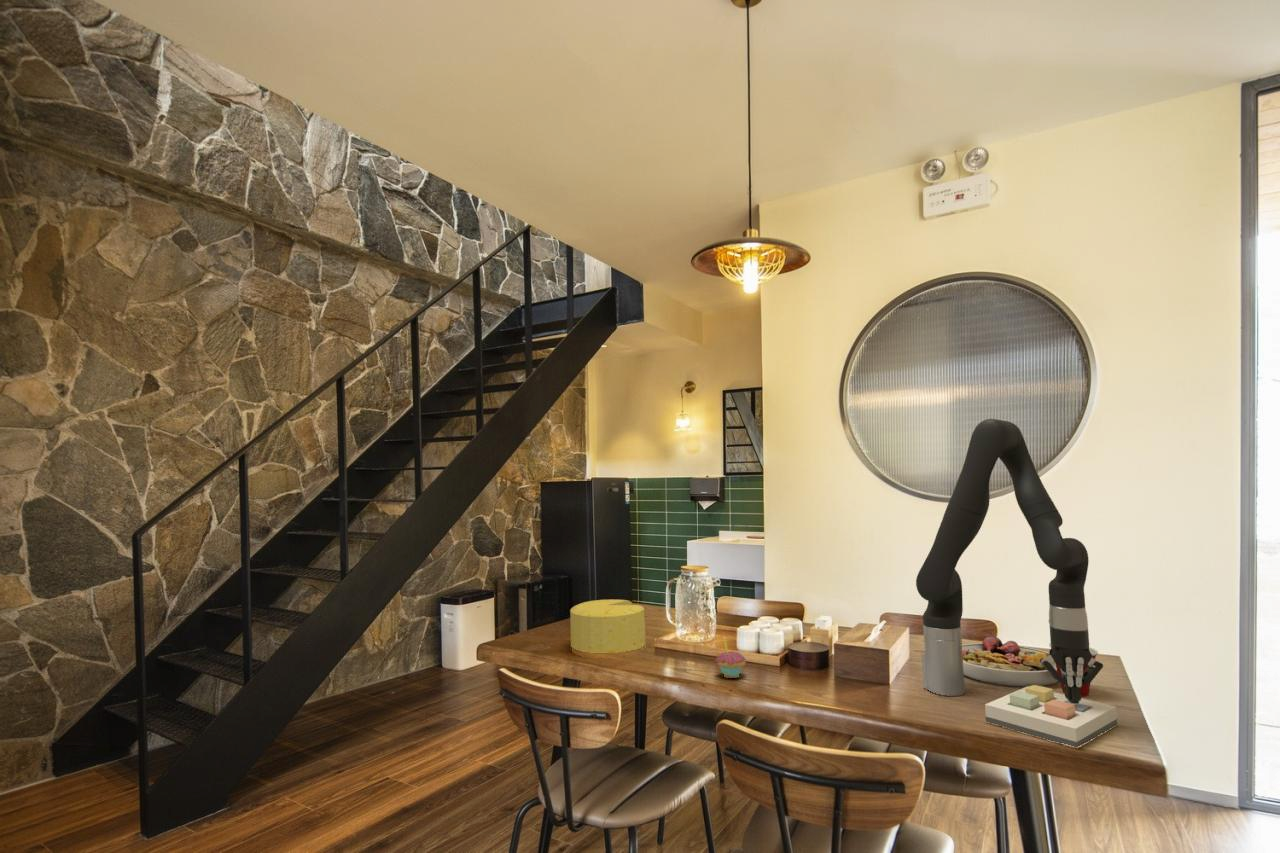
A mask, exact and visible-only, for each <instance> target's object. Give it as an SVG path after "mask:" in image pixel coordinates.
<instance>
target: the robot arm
mask: <svg viewBox="0 0 1280 853" xmlns="http://www.w3.org/2000/svg"><path fill="white" fill-rule="evenodd" d="M998 459H999V460H1000V461H1001V462H1002V464H1003V465H1004V466H1005V468H1006V469H1007V472H1008V474H1009V476H1010V478H1011V482H1012V485H1013V491H1014V496H1015V499H1016V502H1017V505H1018V507H1019V509H1020V511H1021V513H1022V515H1023V516H1024V518H1025V521H1027V524H1028V525H1029V527H1030V529H1031V533H1032V538H1033V542H1034V546H1035V549H1036V552H1037V554H1038V556H1039V558H1040V560H1041V561H1042V562H1043V563H1044V565H1045V566H1047V567H1048V568H1049V569H1052V570H1055V571H1056V574H1055V577H1054V578H1053V579H1051V581H1049V583H1048V601H1049V602H1048V604H1049V605H1048V606H1049V609H1048V624H1049V638H1050V640H1049V641H1050V643H1051V647H1050V650H1049V656H1048V657H1046V658H1045V659H1043V658H1041V659H1040V663H1041V664H1042V665H1043V666H1044V667H1045V668H1046V670H1047V671H1048V672H1049V673H1050V674H1051V675H1052V676H1053V678H1054V679H1055V680H1057V683H1059V684H1060V685H1061V684H1064V689H1065V693H1064V695H1065V697H1066V699H1068V701H1069V702H1070V703H1079V701H1081V699H1082V697H1081V686H1082V685H1085V684H1086V685H1089V684H1090V685H1091V683H1092V681H1093V680H1094V679H1095V678H1096V676H1097V675H1099V673H1100V671H1102V669H1103V667H1104V664H1103V663H1101V661H1098V660H1097V659H1096V658H1095V659H1094V658H1092V654H1091V653H1090V651H1089V648H1090V637H1089V635H1090V634H1089V624H1088V623H1089V621H1088V614H1087V608H1086V597H1085V596H1086V595H1085V584H1086V581H1087V574H1088V571H1089V570H1088V569H1089V553H1088V551H1087V548H1086V546H1085V545H1084V544H1083V542H1082V541H1080V540H1078V539H1077V538H1072V537H1064V538H1063V536H1062V534H1061V533H1062V532H1061V531H1060V527H1061V526H1062V525H1063V517H1062V515H1061V514H1060V512H1059V510H1058V508H1057V506H1056V505H1055V503H1054V501H1053V499H1052V498H1051V496H1050V495H1049V492H1048V491H1047V489H1046V488H1045V485H1044V484H1043V482H1042V480H1041V478H1040V475H1039V474H1038V472H1037V469H1036V467H1035V466H1036V465H1035V464H1034V462H1033V460H1032V457H1031V455H1030V452H1029V449H1028V446H1027V443H1026V440H1025V438H1024V435H1023V434H1022V431H1021V429H1020V428H1019V426H1017V424H1015V423H1013V422H1011V421H1007V420H1001V419H998V418H997V419H996V418H987V419H984V420H981V421H980V422H979V423H977V425H976V426H975V428H974V430H973V431H972V433H971V437H970V440H969V444H968V448H967V452H966V455H965V459H964V461H963V462H964V463H963V464H962V465H963V466H962V469H961V471H960V473H959V476H958V478H957V481H956V484H955V487H954V489H953V492H952V494H951V497H950V499H949V500H948V503H947V506H946V508H945V511H944V514H943V516H942V519H941V522H940V525H939V528H938V529H937V533H936V535H935V538H934V542H933V543H932V546H931V548H930V550H929V553H928V555H927V557H926V558H925V560H924V562H923V564H922V565H921V568H920V569H919V571H918V573H917V576H916V578H915V579H916V580H915V586H916V590H917V593H918V594H919V596H920V597H921V598H923V599H924V600H926V601H927V607H926V609H925V610H924V612H923V615H922V624H923V638H924V639H923V640H924V641H923V642H924V644H923V645H924V651H923V652H921V665H922V683H923V685H922V686H923V689H924V688H925V689H924V690H929V691H928V692H930V691H931V692H930V693H932V692H933V694H935V693H936V694H935V695H939V694H940V695H941V696H945V695H946V696H947V697H958V696H963V695H965V692H966V691H965V690H966V689H965V675H964V670H963V654H962V645H963V644H962V642H963V640H962V639H963V638H962V628H961V625H962V624H961V620H962V616H963V613H964V612H963V610H964V607H963V585H962V579H961V576H960V574H959V572H958V571H957V570H956V567H957V564H958V562H959V560H960V558H961V557H962V555H963V554H964V552H966V550H967V549H968V547H969V546H970V545H971V543H972V542H973V540H974V539H975V538H976V536H977V535H978V534H979V532H980V531H981V528H982V526H983V524H984V521H985V520H986V519H985V518H986V517H987V513H988V512H989V511H988V510H989V508H990V507H989V506H990V498H991V496H990V481H991V475H992V473H993V470H994V468H995V465H996V464H997V462H998ZM1053 660H1054V661H1055V663H1056V664H1057V665H1058V666H1059V667H1060V670H1061V673H1062V677H1061V675H1060V674H1059V673H1058V672H1057V671H1056V670H1055V669H1054V667H1053V666H1054V663H1053ZM1087 664H1088V667H1087V669H1086V670H1085V671H1084V672H1083V669H1084V668H1085V667H1086V665H1087Z"/></svg>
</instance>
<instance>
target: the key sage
mask: <svg viewBox="0 0 1280 853" xmlns="http://www.w3.org/2000/svg"><path fill="white" fill-rule="evenodd" d="M1017 691H1018V690H1017ZM1015 692H1016V691H1015ZM1012 693H1013V692H1012ZM1010 694H1011V693H1010ZM1010 705H1012V706H1015V707H1019V708H1023V709H1027V710H1033V709H1035V708H1037V707H1039V696H1037V695H1033V694H1029V693H1025V692H1021V691H1018V692H1016V693H1013V694H1011V695H1010Z"/></svg>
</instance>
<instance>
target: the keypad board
mask: <svg viewBox="0 0 1280 853" xmlns="http://www.w3.org/2000/svg"><path fill="white" fill-rule="evenodd" d="M1027 687H1030V686H1027ZM1027 687H1023V688H1020V689H1018V690H1016V691H1013V692H1011V693H1008V694H1007V695H1004V696H1002V697H1001V696H1000V697H999V698H997V699H995V700H992V701H990V702H988V703H985V704H984V708H985V711H984V712H985V713H984V714H985V722H986V721H987V722H990V723H994V724H998V725H1001V726H1004V727H1007V728H1010V729H1014V730H1017V731H1020V732H1024V733H1027V734H1030V735H1034V736H1038V737H1041V738H1045V739H1048V740H1051V741H1055V742H1059V743H1064V744H1068V745H1071V746H1074V747H1078V746H1080V745H1082V744H1084V743H1086V742H1088V741H1090V740H1091V739H1093V738H1095V737H1097V736H1098V735H1100V734H1101V733H1104V732H1105V731H1107V730H1109V729H1110V728H1112V727H1114V726H1116V725H1118V716H1117V706H1115V705H1111V704H1107V703H1102V702H1098V701H1093V700H1089V699H1085V698H1081V701H1079V703H1078V704H1082V705H1086V706H1090V709H1089V710H1087V711H1085V712H1079V711H1075V715H1076V716H1074V717H1072V718H1070V719H1068V720H1065V719H1061V718H1058V717H1054V716H1050V715H1046V714H1045V707H1044V703H1043V702H1039V707H1037V708H1035V709H1033V710H1027V709H1023V708H1019V707H1015V706H1012V705H1010V695H1011V694H1013V693H1016V692H1018V691H1021V692H1025V688H1027ZM1054 700H1058V701H1062V702H1068V699H1066V697H1065V693H1060V692H1055V691H1054ZM1116 727H1117V726H1116ZM1114 728H1115V727H1114ZM1109 731H1110V730H1109ZM1104 734H1105V733H1104ZM1097 738H1098V737H1097Z"/></svg>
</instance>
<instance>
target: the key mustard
mask: <svg viewBox="0 0 1280 853" xmlns="http://www.w3.org/2000/svg"><path fill="white" fill-rule="evenodd" d="M1024 688H1025V687H1024ZM1054 692H1055V691H1054V688H1051V687H1045V686H1037V685H1032V686H1030V687H1027V688H1025V693H1029V694H1033V695H1037V696H1039V702H1043V703H1047V702H1049V701H1051V700H1053V699H1054Z"/></svg>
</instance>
